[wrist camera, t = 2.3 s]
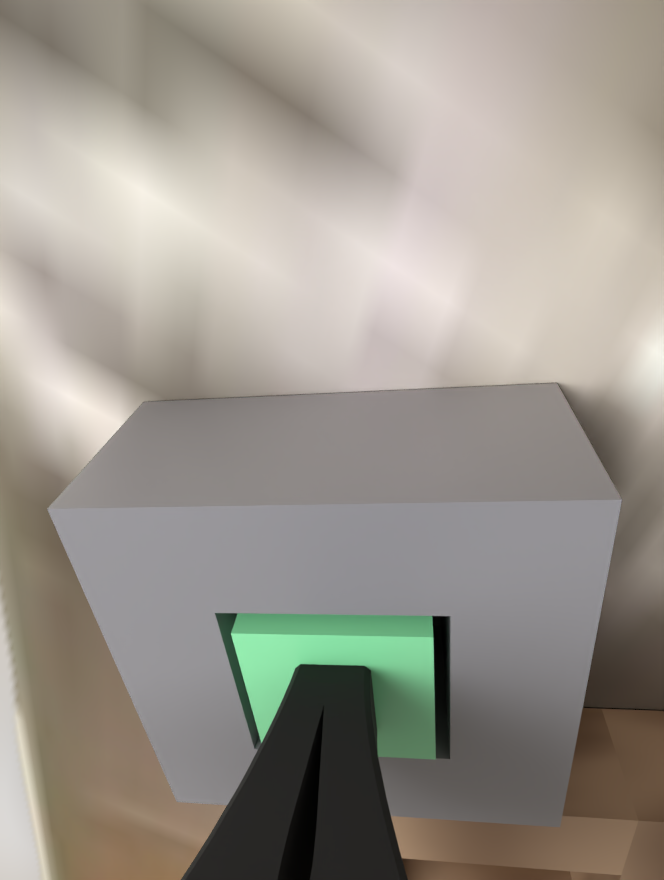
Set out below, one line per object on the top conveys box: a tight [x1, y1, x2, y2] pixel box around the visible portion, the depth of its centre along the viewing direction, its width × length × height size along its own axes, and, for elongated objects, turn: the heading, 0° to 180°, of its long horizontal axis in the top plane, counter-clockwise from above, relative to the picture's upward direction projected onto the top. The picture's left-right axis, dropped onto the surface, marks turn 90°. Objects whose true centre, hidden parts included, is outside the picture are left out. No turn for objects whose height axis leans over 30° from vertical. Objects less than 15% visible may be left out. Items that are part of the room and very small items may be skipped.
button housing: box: [47, 383, 622, 827], centre depth 13 cm, size 9×9×4 cm
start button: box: [231, 613, 436, 760], centre depth 12 cm, size 4×4×3 cm
